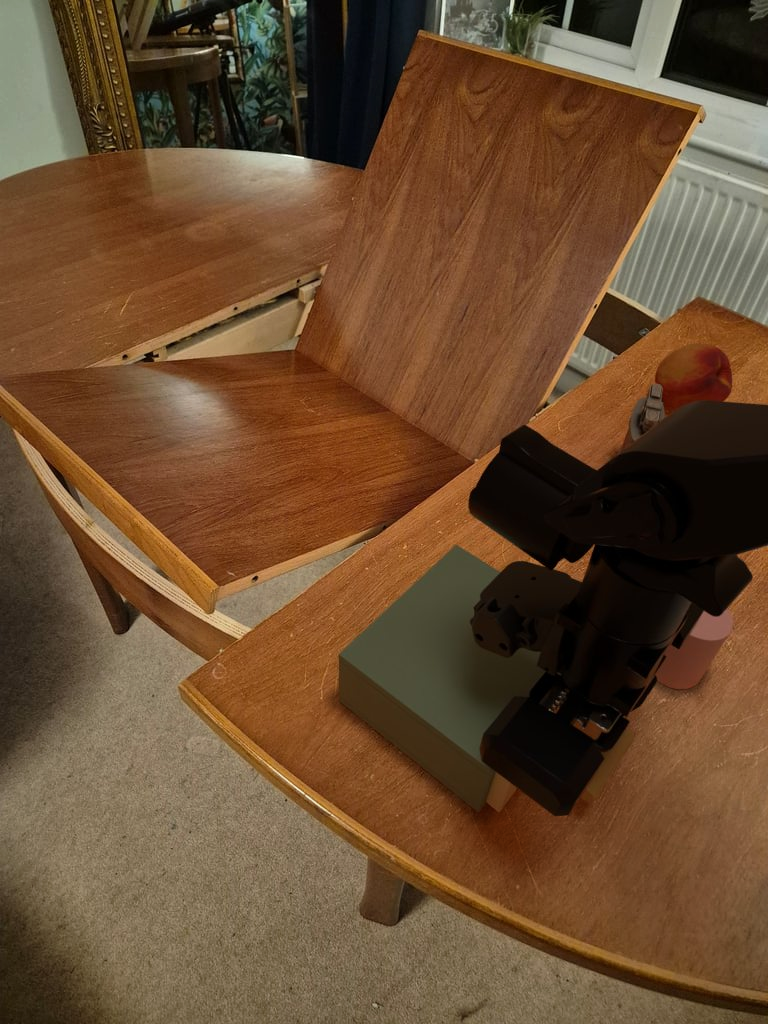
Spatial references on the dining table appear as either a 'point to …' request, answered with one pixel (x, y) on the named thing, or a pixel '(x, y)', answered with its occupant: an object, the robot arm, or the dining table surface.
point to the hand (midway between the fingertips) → (571, 738)
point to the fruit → (694, 375)
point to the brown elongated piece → (645, 415)
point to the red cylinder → (695, 652)
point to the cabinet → (436, 675)
